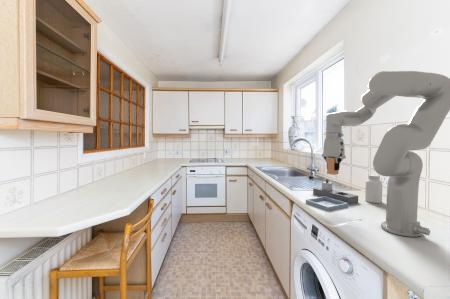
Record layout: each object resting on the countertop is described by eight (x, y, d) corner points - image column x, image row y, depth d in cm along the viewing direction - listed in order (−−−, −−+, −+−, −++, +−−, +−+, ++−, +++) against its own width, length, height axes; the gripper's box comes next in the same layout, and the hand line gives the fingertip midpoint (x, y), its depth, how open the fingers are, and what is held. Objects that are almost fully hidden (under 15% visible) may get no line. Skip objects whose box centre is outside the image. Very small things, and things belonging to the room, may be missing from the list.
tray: (348, 208, 113) (348, 203, 113) (328, 212, 107) (328, 207, 107) (324, 200, 126) (324, 196, 126) (305, 204, 120) (305, 199, 120)
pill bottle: (371, 198, 129) (372, 173, 129) (385, 202, 122) (386, 176, 121) (361, 200, 127) (362, 174, 126) (375, 204, 119) (375, 177, 118)
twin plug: (332, 197, 133) (332, 179, 132) (327, 198, 131) (327, 180, 131) (326, 195, 137) (326, 178, 136) (321, 196, 135) (322, 179, 134)
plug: (338, 174, 118) (338, 153, 117) (333, 174, 116) (334, 154, 115) (331, 173, 122) (332, 153, 121) (327, 173, 120) (327, 153, 119)
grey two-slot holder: (358, 203, 120) (358, 195, 120) (348, 205, 117) (348, 197, 117) (322, 193, 142) (322, 186, 142) (313, 195, 138) (313, 188, 138)
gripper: (353, 135, 112) (352, 171, 113) (325, 136, 127) (324, 167, 128) (343, 136, 108) (342, 172, 110) (316, 136, 123) (315, 168, 124)
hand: (332, 169), depth 119 cm, fingers closed on plug, 4 cm apart
